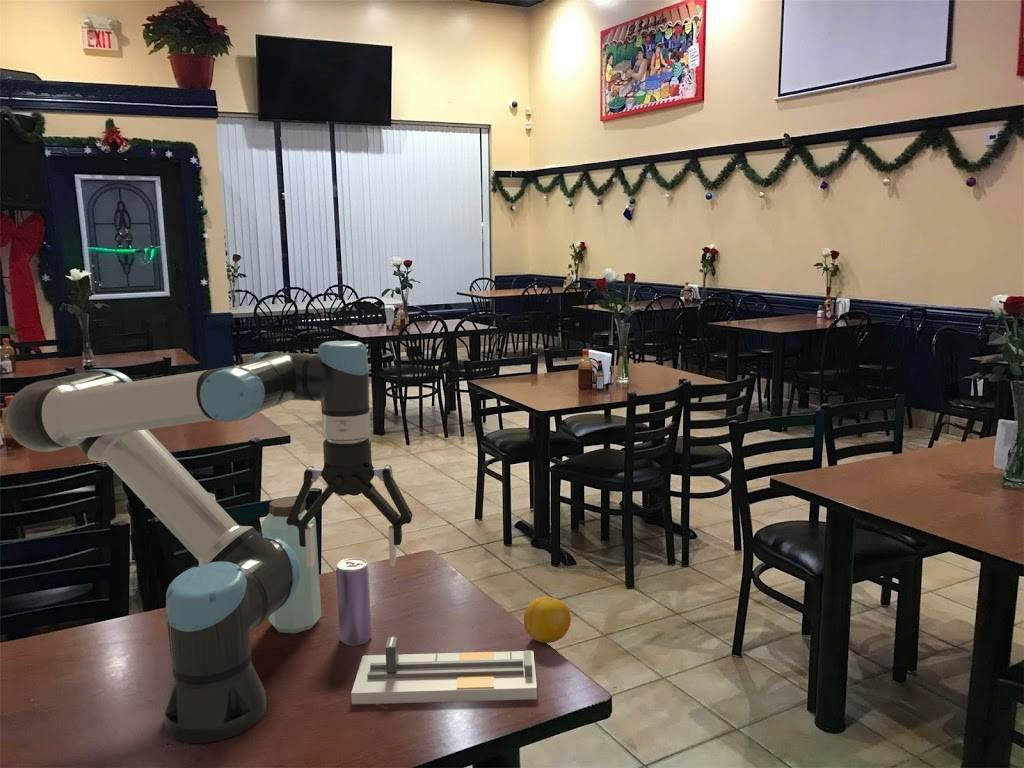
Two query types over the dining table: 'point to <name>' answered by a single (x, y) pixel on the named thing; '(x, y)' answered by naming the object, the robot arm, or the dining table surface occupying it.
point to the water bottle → (306, 598)
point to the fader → (392, 654)
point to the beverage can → (353, 601)
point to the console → (446, 678)
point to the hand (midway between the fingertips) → (352, 564)
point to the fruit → (547, 619)
